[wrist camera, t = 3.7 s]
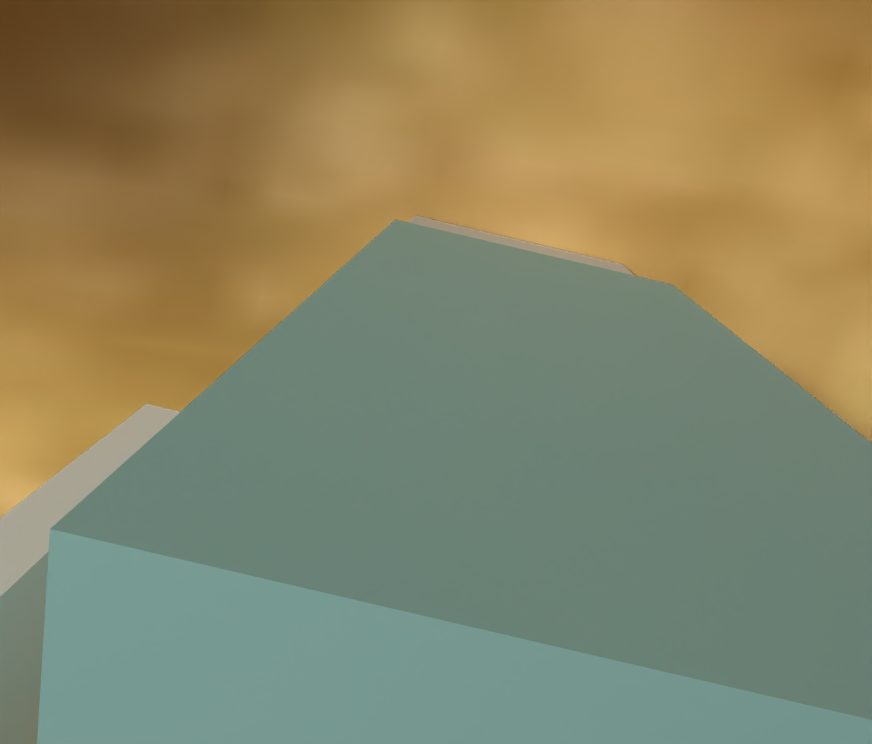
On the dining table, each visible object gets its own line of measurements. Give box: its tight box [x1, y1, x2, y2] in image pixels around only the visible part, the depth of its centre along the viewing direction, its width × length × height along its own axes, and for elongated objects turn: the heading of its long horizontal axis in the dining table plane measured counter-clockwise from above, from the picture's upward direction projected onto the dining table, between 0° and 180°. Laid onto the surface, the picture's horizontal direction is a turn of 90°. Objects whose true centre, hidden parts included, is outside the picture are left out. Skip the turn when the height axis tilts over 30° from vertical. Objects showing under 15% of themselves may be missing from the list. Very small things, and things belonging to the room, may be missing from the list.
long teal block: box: [37, 215, 872, 744], centre depth 9 cm, size 4×10×12 cm, turn 167°
